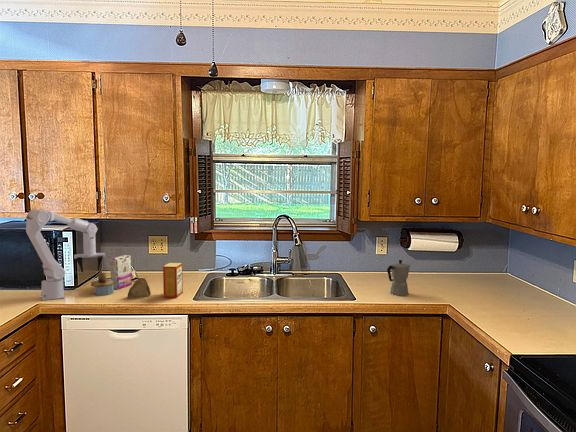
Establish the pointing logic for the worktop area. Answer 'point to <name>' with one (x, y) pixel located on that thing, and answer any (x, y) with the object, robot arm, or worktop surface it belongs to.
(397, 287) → the coffeepot
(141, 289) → the rock
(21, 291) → the worktop surface
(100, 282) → the walnut lid
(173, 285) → the baking soda box
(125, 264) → the candy bar box
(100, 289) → the slate bowl
